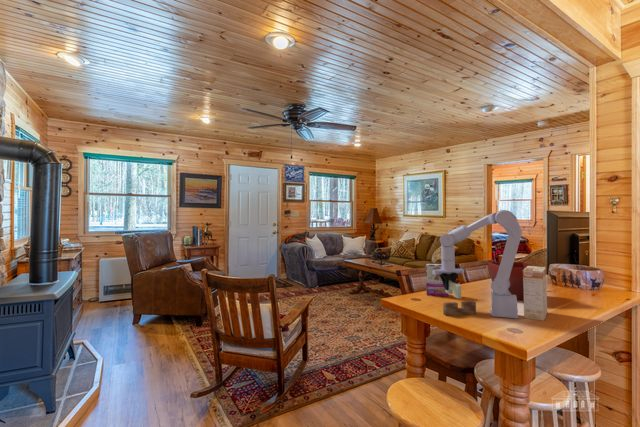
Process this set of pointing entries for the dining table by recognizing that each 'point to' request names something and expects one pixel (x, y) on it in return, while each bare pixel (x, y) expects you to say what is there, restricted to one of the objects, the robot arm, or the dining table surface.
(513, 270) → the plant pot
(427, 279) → the candy bar box
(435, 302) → the dining table surface
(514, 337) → the dining table surface
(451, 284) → the sage plate
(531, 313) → the coffeecake box
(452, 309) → the base plate
